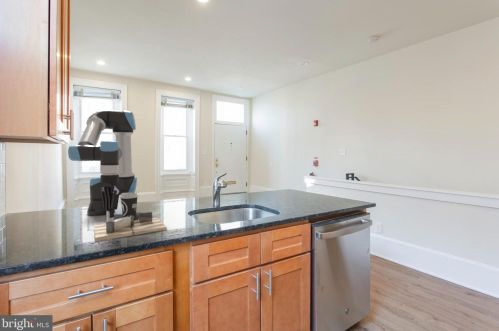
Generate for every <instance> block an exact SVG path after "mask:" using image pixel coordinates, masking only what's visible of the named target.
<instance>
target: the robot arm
mask: <svg viewBox="0 0 499 331" xmlns="http://www.w3.org/2000/svg"><path fill="white" fill-rule="evenodd" d="M134 116H135V114H134V113H133V112H132V111H129V110H117V109H116V110H115V109H102V110H98V111H95V112H94V113H92V114H91V115H90V116H89V117H88V118H87V120H86V127H85V128H84V131H83V133H82V134H81V137H80V140H79V141H78V143H77V144H74V145H69V147H68V150H67V155H68V159H69V160H70V161H73V162H94V161H95V162H100V163H99V166H100V168H99V169H100V170H99V171H100V174H101V175H100V176H97V177H92V178H91V179H90V180H89V198H90V200H89V204H88V207H87V211H86V213H87V216H104V215H106V222H109V221H113V220H115V212H116V210H118V206H119V200H120V199H119V198H120V196H121V194H122V193H128V192H135V193H136V191H137V185H138V177H137V176H136V174H135V173H134V172H133V168H132V167H133V165H132V163H133V162H132V135H133V134H134V131H136V130H137V127H136V125H137V124H136V120H135V117H134ZM105 130H112V133H113V134H114V135H115V140H112V141H111V140H101V141H100V143H99V145H98V142H99V139H100V137H101V135H102V133H103V131H105Z"/></svg>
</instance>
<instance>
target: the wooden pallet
mask: <svg viewBox="0 0 499 331" xmlns="http://www.w3.org/2000/svg"><path fill="white" fill-rule="evenodd" d="M138 215H139V216H138V220H137V219H135V220H134V225H133V226H129V227H126V228H124V229H121V230H118V231H115V232H113V233H108V232H106V223H105V224H98V225H94V242H99V241H105V240H112V239H117V238H124V237H130V236H136V235H141V234H142V235H143V234H148V233H156V232H161V231H167V229H168V228H167V227H168V226H166V224H164V223H163V222H162V221H161V220H160V218H158V217H153V211H152V210H150V211H149V210H148V211H141V212H138Z"/></svg>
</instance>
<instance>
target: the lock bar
mask: <svg viewBox="0 0 499 331" xmlns="http://www.w3.org/2000/svg"><path fill="white" fill-rule="evenodd" d="M105 224H106V232H108V233H113V232H115V231H118V230H121V229H124V228H126V227H129V226H133V225H134V216H126V217H123V216H122V217H120V218H117V219H114V220H113V221H109V222H107V221H105Z"/></svg>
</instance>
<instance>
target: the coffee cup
mask: <svg viewBox="0 0 499 331" xmlns="http://www.w3.org/2000/svg"><path fill="white" fill-rule="evenodd" d="M119 198H120V205H121V213H122V218H123V217H126V216H134V220H137V205H138V198H139V195H138V193H137V192H136V191H135V192H128V193H122V194H121V195H119Z"/></svg>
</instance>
